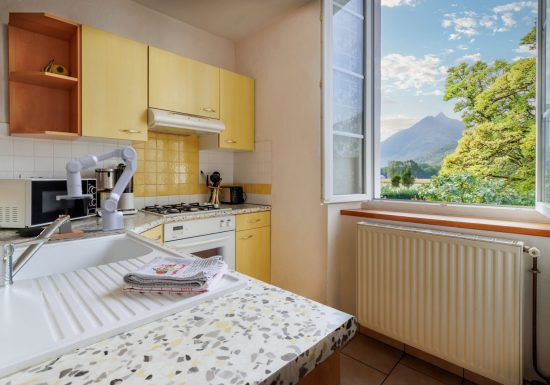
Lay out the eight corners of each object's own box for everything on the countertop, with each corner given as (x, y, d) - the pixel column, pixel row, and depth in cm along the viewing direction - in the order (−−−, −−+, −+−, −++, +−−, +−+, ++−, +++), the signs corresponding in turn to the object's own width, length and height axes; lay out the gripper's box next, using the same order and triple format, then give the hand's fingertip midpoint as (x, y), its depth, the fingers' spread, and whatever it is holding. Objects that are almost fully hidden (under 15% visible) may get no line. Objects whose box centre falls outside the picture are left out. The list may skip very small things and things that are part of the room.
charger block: (69, 235, 137) (68, 220, 137) (72, 236, 134) (71, 221, 133) (59, 237, 135) (58, 221, 134) (61, 238, 131) (60, 222, 131)
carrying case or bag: (20, 231, 134) (13, 229, 143) (20, 238, 134) (13, 235, 143) (49, 228, 142) (40, 226, 151) (49, 234, 142) (40, 231, 151)
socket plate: (77, 233, 144) (77, 229, 144) (83, 236, 135) (83, 231, 135) (46, 237, 135) (46, 232, 135) (51, 240, 126) (50, 236, 126)
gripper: (89, 185, 150) (91, 211, 151) (54, 186, 140) (56, 215, 141) (93, 185, 145) (95, 212, 146) (57, 186, 135) (59, 216, 136)
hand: (76, 213), depth 143 cm, fingers open, 7 cm apart
